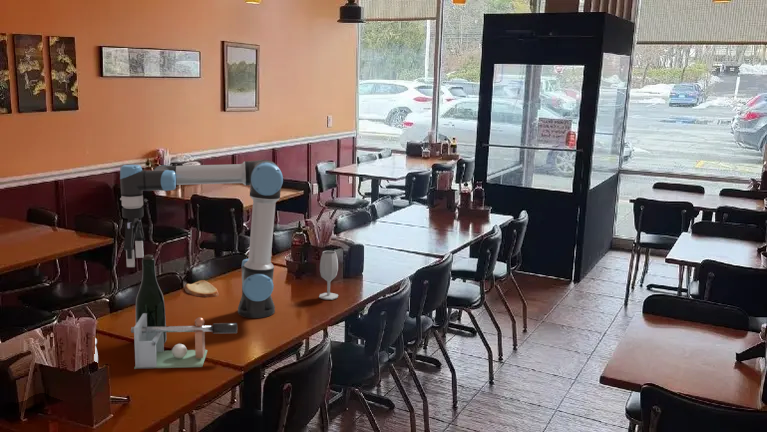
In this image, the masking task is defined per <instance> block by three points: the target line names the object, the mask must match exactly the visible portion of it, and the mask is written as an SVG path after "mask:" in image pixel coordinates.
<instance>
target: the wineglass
mask: <svg viewBox="0 0 767 432" xmlns="http://www.w3.org/2000/svg"><path fill="white" fill-rule="evenodd" d="M338 261H339V260H338V255H337V252H336V251H335V250H324V251H322V253H321V257H320V261H319V262H320V263H319V272H320V277H321V278H322V279H323V280H325V281H326V285H327V288H326V289H327V290H326V292H323V293H319V296H318V298H319V299H321V300H325V301H326V300H327V301H332V300H337V299H338V298H339V294H338V293H333V292H331V282H332V281H333V280H335V278H336V277H337V275H338V271H339V262H338Z"/></svg>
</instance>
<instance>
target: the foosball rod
mask: <svg viewBox="0 0 767 432" xmlns="http://www.w3.org/2000/svg"><path fill="white" fill-rule="evenodd" d="M134 327H135V326H131V329H130V332H131V334H132V333H133V334H134ZM154 332H166V333H194V343H195V344H194V345H195V346H194V348H195V349H194V350H195V354H196V358H203V356H204V353H205V350H206V337H205V336H206V335H205V334H206V332H212V334H217V335H218V334H237V333H238V323H237V322H219V323H218V322H216V323H214V322H213V324H212V325H205V319H204V318H203V317H201V316H200V317H197V318H196V319H195V320H194V325H177V326H176V325H174V326H173V325H169V326H167V325H166V326H158V327H142V333H154Z"/></svg>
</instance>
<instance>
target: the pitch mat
mask: <svg viewBox="0 0 767 432" xmlns="http://www.w3.org/2000/svg"><path fill="white" fill-rule="evenodd" d="M207 354H208V349H205V353H204V356H203V358H196V354H195V349H187V353H186V355H185V356H184V357H183V358H180V359H178V358H175V357H174V356H173V354H172V349H171V350H164V352H156V356H157V366H156V367H154V368H153V369H171V368H172V369H175V368H176V369H177V368H203V365H204V362H205V360H206V357H207ZM134 365H135V364H134ZM140 368H142V369H144V368H143V367H140ZM140 368H137V367H136V365H135V366H134V370H136V369H140ZM145 369H152V368H151V367H148V368H147V367H146V368H145Z"/></svg>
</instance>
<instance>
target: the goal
mask: <svg viewBox="0 0 767 432" xmlns="http://www.w3.org/2000/svg"><path fill="white" fill-rule="evenodd" d="M133 327H134V333H133V336H134V338H133V339H134V341H133V342H134V362H135V364H134V365H136V367H137V368H140V367H143V368H140V369H149V368H148V367H151V368H150V369H155V368H154V367H156V366H157V356H156V352H164V351H165V343H164V337H163V332H154V333H142V327H147V313H143V314H142V316H141V317H140V319H139V320H138V322H137V323H136V322H135V325H134V326H133ZM146 367H147V368H146Z"/></svg>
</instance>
